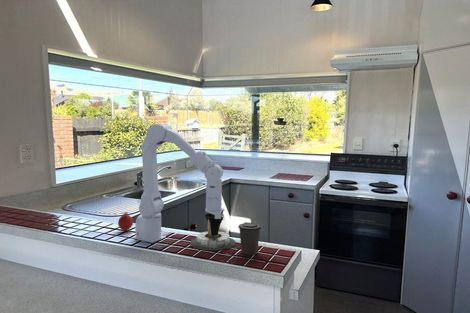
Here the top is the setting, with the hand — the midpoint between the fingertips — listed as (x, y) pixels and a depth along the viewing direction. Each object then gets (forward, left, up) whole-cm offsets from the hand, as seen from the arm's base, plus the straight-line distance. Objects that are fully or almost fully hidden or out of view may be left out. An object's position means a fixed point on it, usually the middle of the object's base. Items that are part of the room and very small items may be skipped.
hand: (213, 233), depth 124 cm
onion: (-39, -6, -4) cm, 40 cm away
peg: (0, 0, -2) cm, 2 cm away
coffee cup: (+16, -2, -4) cm, 17 cm away
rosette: (0, 0, -4) cm, 4 cm away
